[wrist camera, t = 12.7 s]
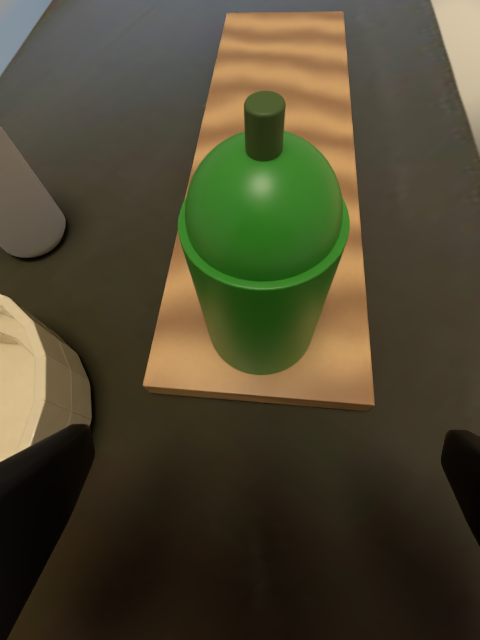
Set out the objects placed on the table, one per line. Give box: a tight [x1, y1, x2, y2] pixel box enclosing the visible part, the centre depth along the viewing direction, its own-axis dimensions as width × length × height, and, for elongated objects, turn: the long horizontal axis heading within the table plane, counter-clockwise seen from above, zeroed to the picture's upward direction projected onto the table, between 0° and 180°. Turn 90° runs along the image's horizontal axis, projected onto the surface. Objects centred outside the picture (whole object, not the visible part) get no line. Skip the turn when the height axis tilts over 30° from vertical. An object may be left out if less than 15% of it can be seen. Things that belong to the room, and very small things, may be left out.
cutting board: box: [143, 12, 375, 411], centre depth 27 cm, size 40×12×2 cm, turn 175°
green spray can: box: [178, 91, 350, 375], centre depth 14 cm, size 6×6×12 cm
